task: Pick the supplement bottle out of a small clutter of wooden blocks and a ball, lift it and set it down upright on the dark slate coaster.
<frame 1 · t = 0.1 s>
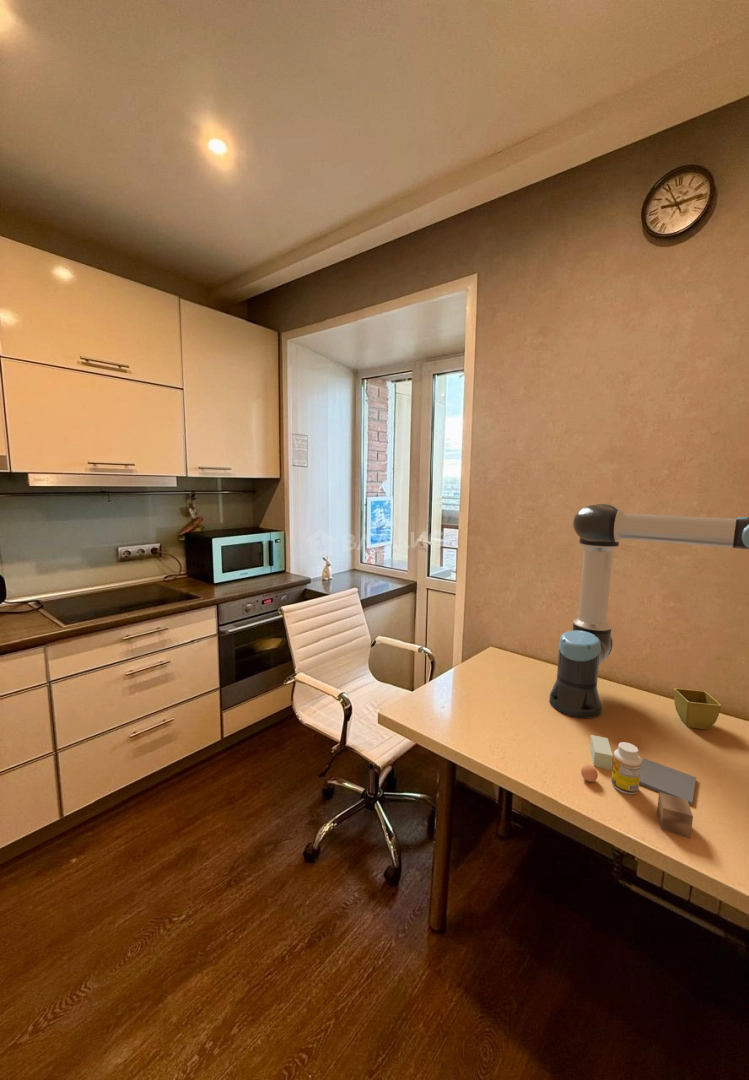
flower pot: (693, 725, 126), on the table
slate coaster: (665, 781, 101), on the table
terracotta ball: (589, 773, 101), point 2 cm above the table
sage block: (600, 759, 110), on the table
supplement bottle: (624, 788, 99), on the table
walnut cube: (672, 825, 88), on the table
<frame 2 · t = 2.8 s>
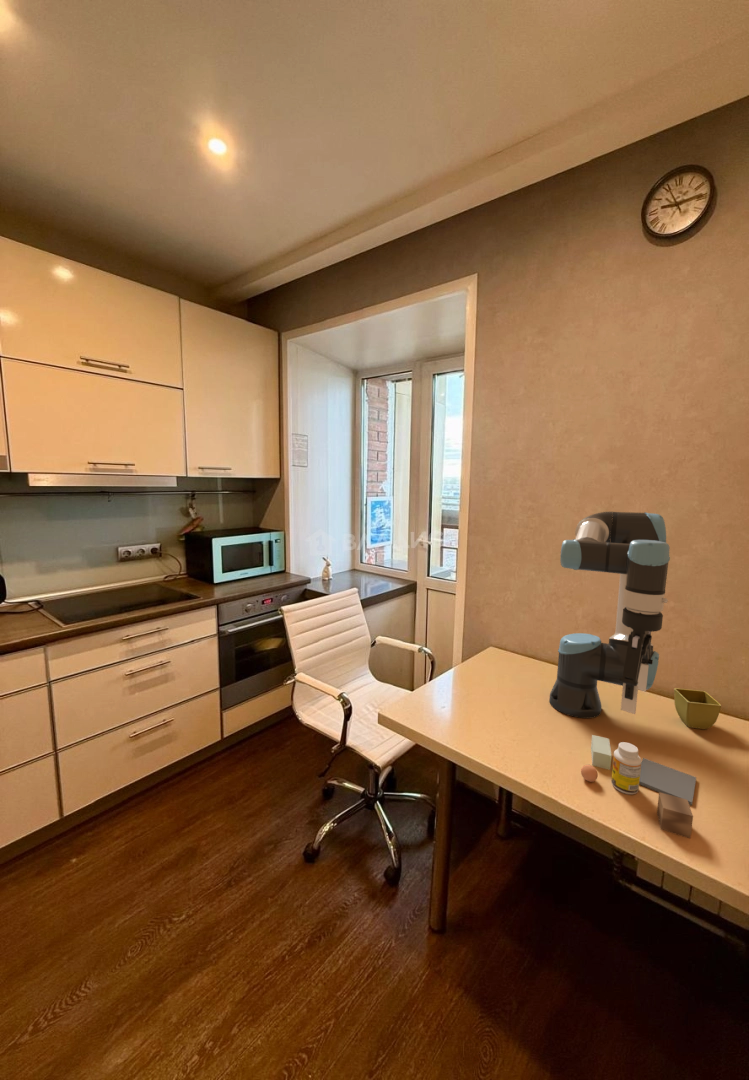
hand: (633, 700, 96), 22 cm above the table, fingers open, 13 cm apart
nothing on the table moved.
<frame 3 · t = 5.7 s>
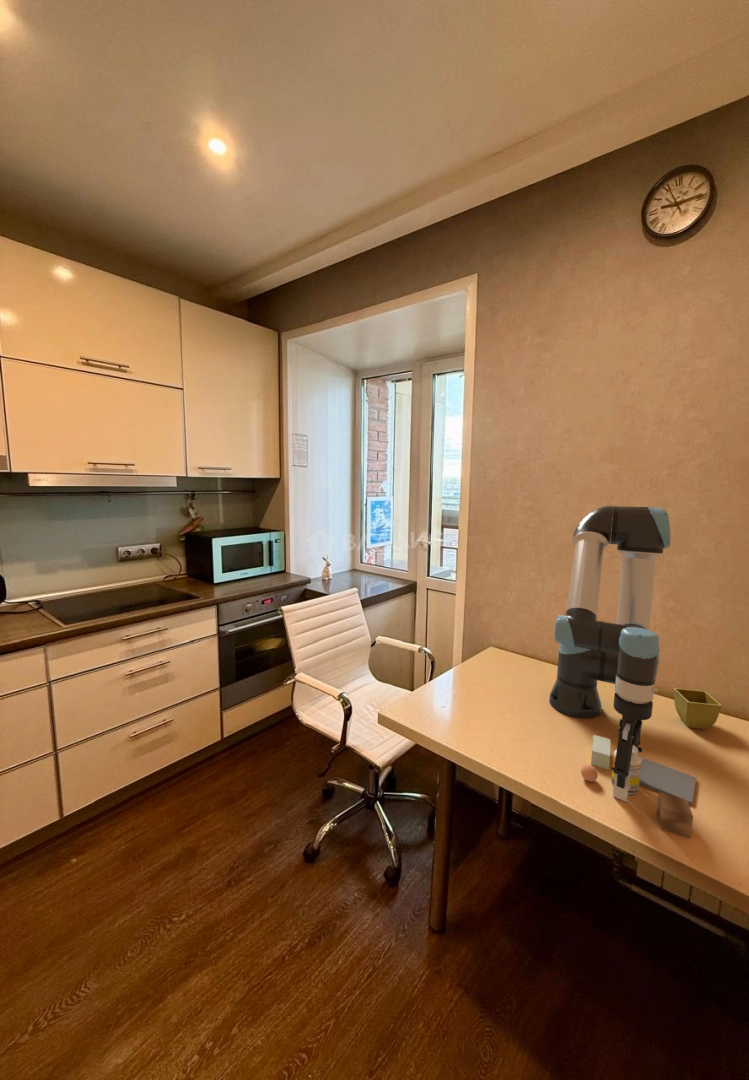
hand: (624, 786, 99), 0 cm above the table, fingers open, 9 cm apart
nothing on the table moved.
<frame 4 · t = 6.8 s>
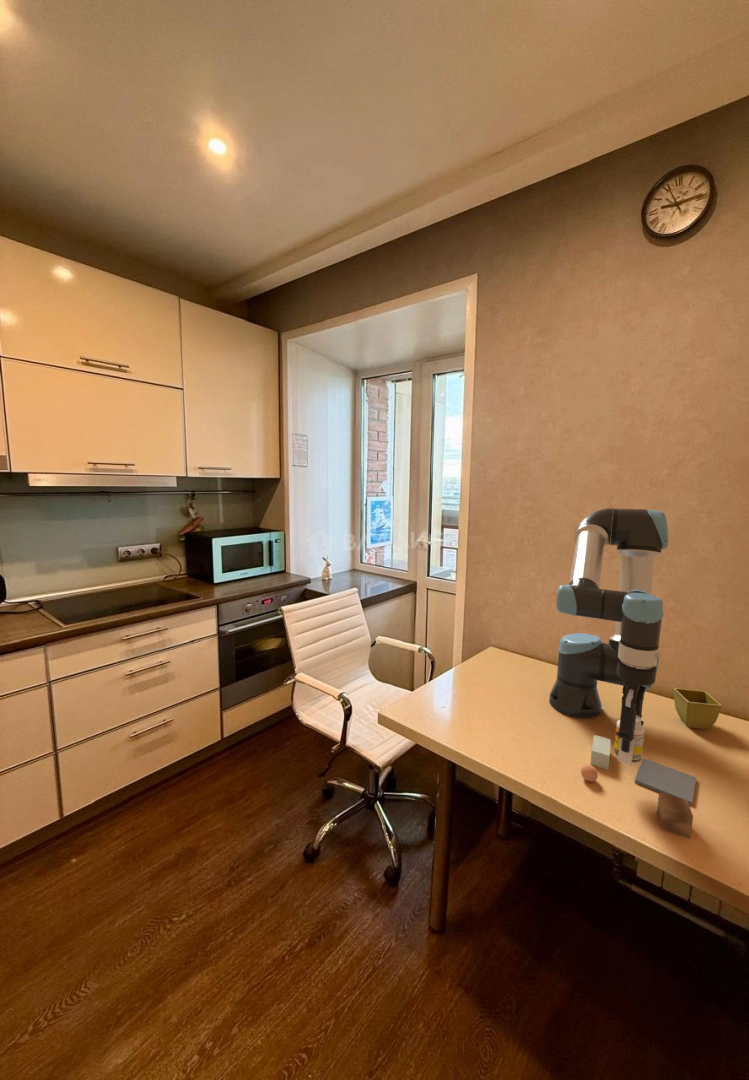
hand: (627, 755, 99), 8 cm above the table, fingers closed on supplement bottle, 6 cm apart
supplement bottle: (627, 757, 99), point 7 cm above the table, touching gripper
everything else where it was.
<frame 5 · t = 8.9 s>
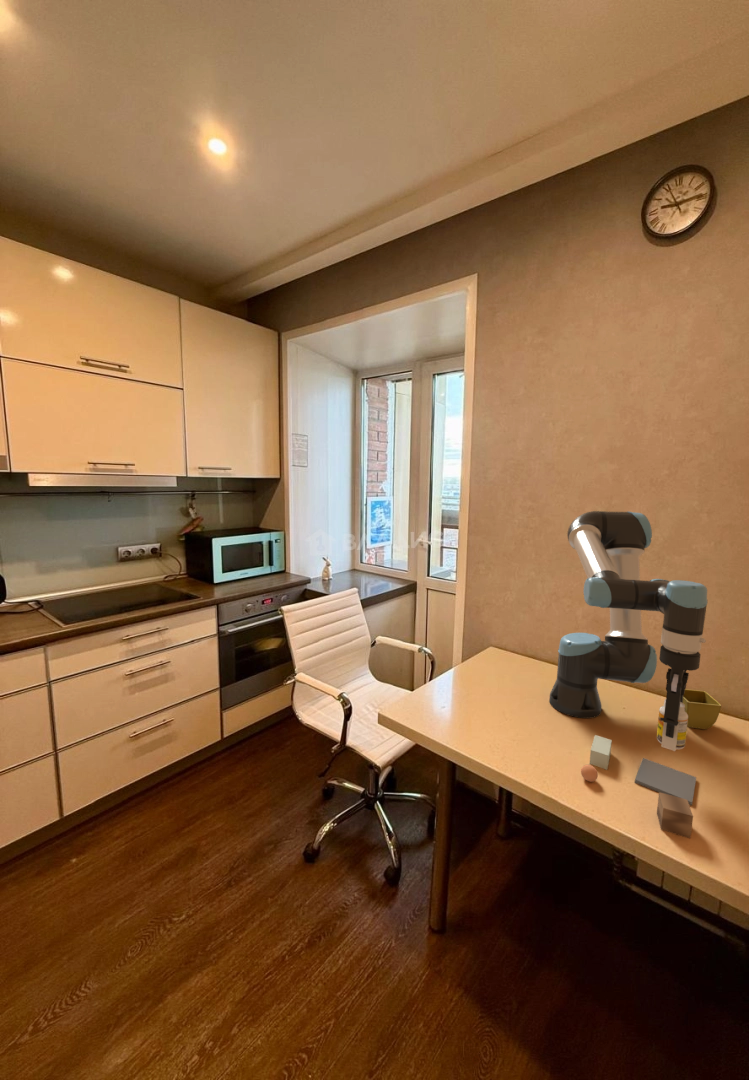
hand: (670, 742, 100), 10 cm above the table, fingers closed on supplement bottle, 6 cm apart
supplement bottle: (670, 744, 100), point 10 cm above the table, touching gripper
everything else where it was.
when the fingers open (2 cm above the table, at t = 11.0 s): supplement bottle stays where it is, resting on slate coaster.
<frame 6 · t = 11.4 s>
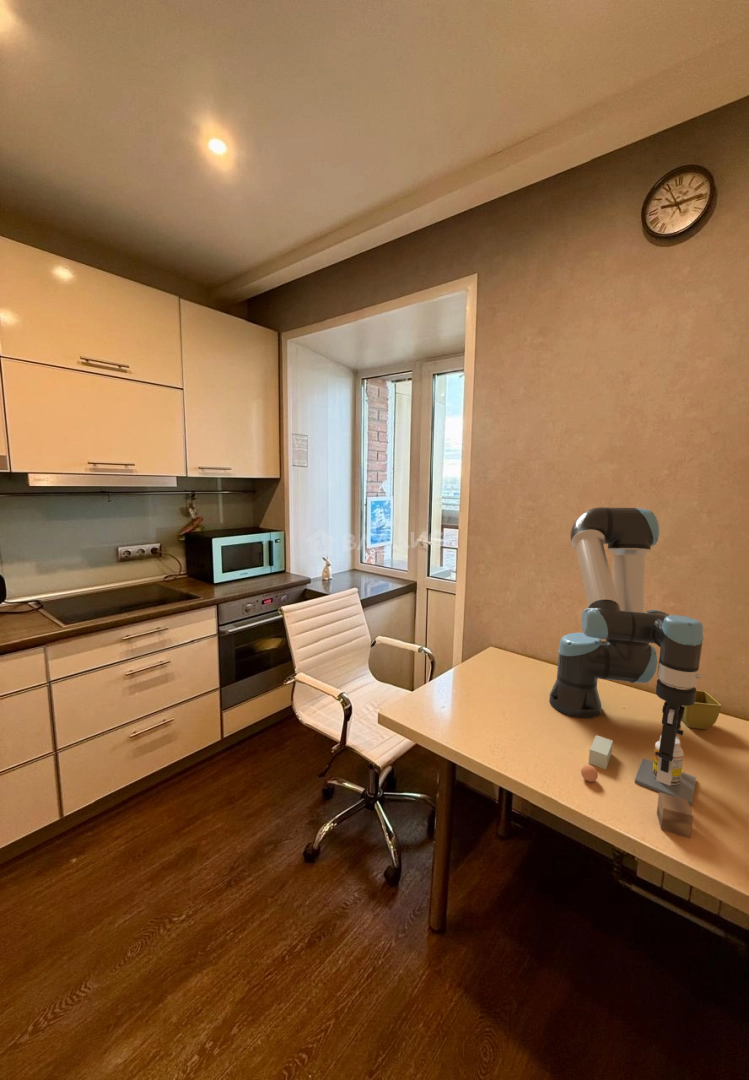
hand: (666, 769, 101), 3 cm above the table, fingers open, 11 cm apart
supplement bottle: (665, 779, 101), point 1 cm above the table, touching slate coaster
everything else where it was.
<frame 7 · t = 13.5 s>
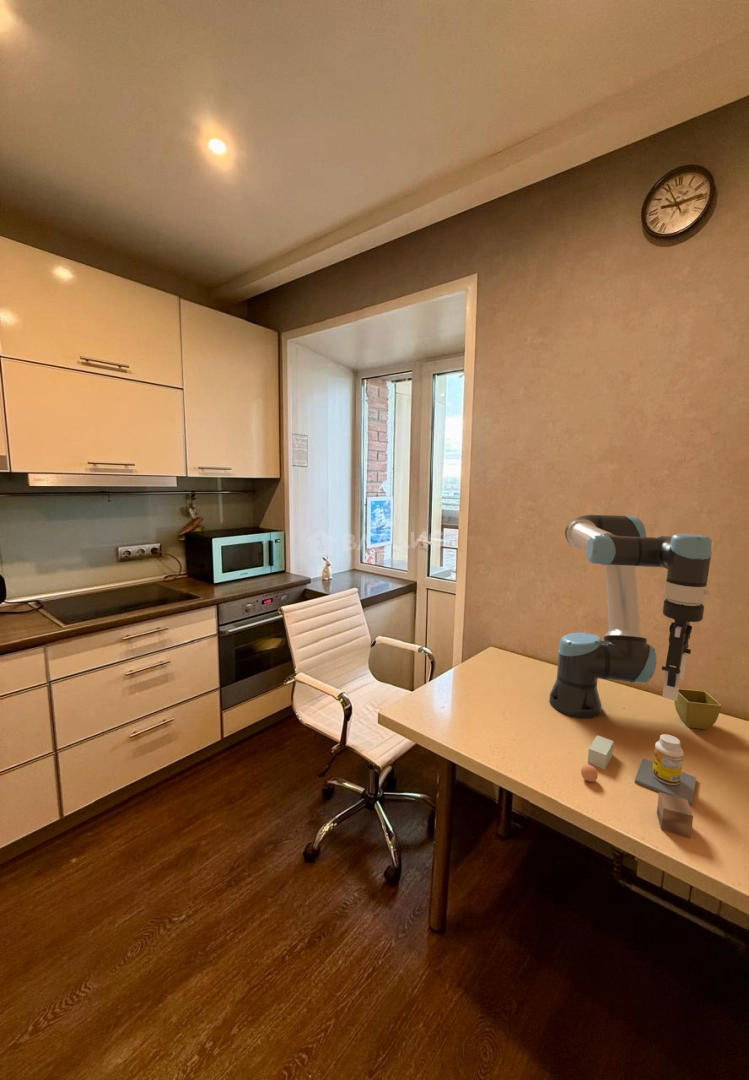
hand: (673, 687, 100), 23 cm above the table, fingers open, 13 cm apart
nothing on the table moved.
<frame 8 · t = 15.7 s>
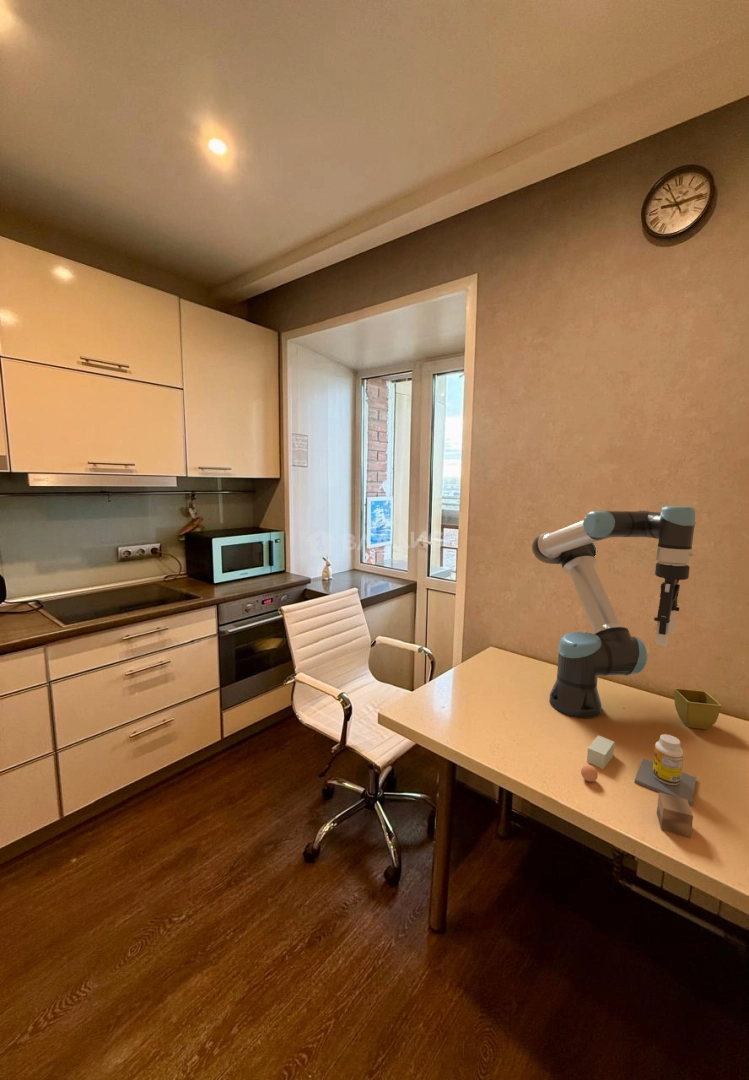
hand: (664, 638, 117), 29 cm above the table, fingers open, 13 cm apart
nothing on the table moved.
at the end: supplement bottle inside the target area on the slate coaster (0.1 cm from its centre), point 0.6 cm above the slate coaster's base; supplement bottle tilted 0°; the gripper is holding nothing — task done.
